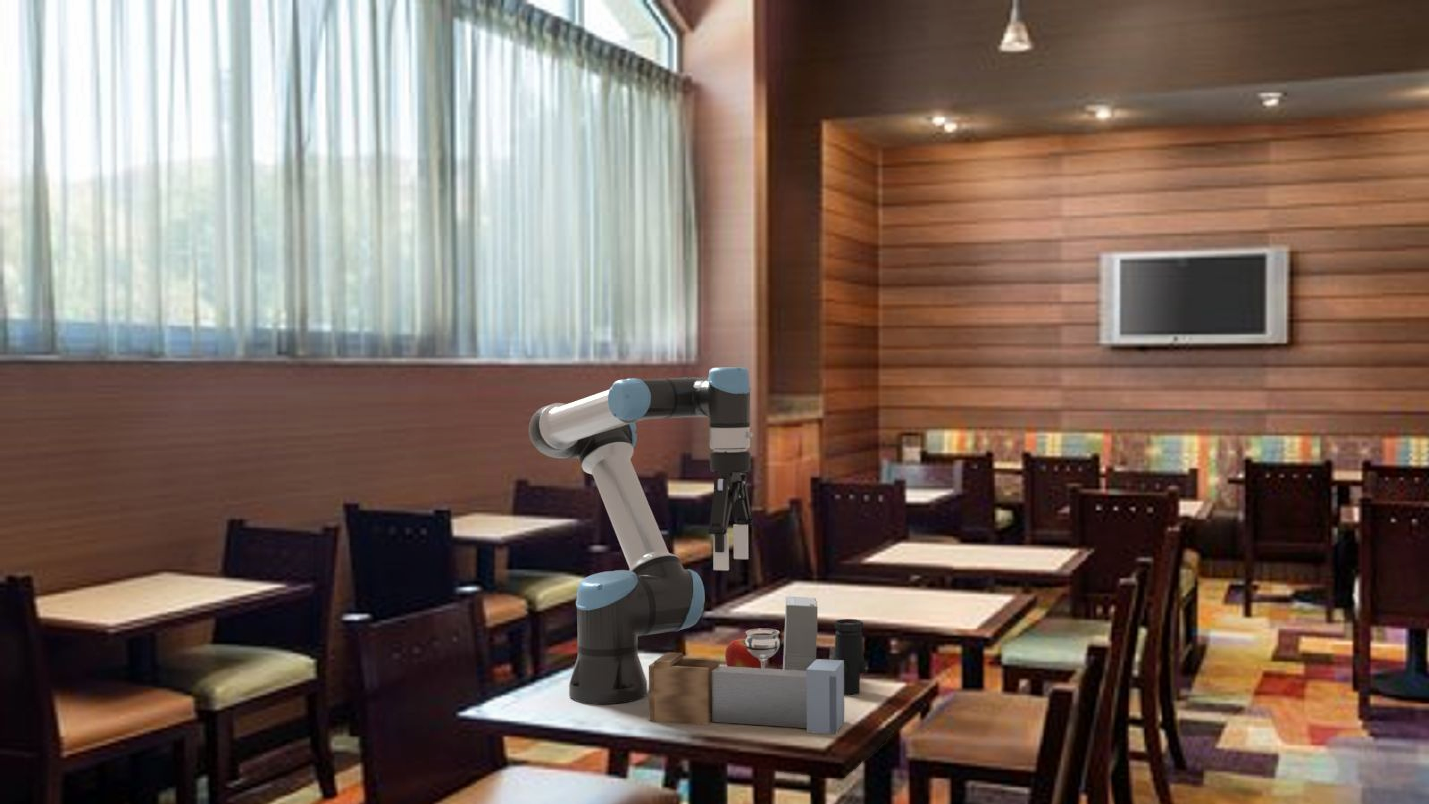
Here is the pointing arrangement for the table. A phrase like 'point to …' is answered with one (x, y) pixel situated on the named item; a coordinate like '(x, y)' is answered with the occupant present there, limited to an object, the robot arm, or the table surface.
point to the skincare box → (800, 633)
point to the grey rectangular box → (759, 696)
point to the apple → (740, 655)
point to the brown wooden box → (681, 689)
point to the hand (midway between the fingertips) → (731, 564)
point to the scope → (850, 653)
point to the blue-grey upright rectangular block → (825, 696)
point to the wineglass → (762, 643)
